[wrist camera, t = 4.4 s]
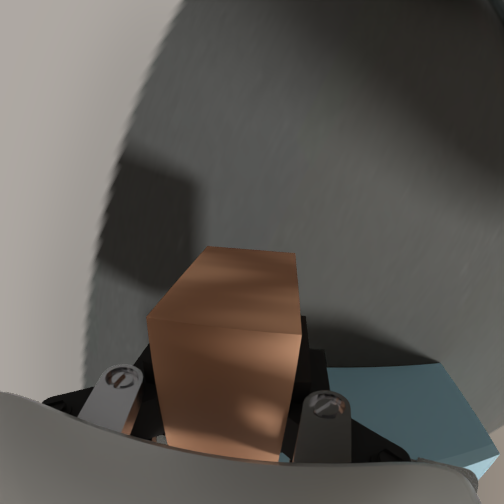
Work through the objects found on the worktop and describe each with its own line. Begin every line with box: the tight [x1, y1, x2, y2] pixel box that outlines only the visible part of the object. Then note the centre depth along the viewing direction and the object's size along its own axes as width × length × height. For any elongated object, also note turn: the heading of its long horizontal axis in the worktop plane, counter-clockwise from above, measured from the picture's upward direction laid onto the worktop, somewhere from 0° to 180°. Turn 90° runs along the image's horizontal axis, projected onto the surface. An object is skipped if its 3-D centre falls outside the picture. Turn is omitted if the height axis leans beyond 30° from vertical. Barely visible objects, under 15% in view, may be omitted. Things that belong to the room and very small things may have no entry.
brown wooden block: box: [146, 246, 302, 462], centre depth 10 cm, size 4×7×6 cm, turn 177°
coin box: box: [278, 363, 500, 480], centre depth 17 cm, size 12×14×10 cm
